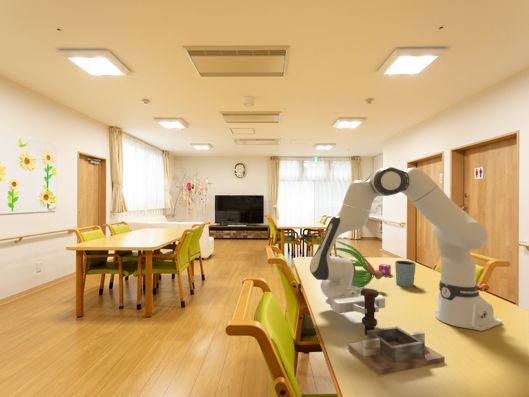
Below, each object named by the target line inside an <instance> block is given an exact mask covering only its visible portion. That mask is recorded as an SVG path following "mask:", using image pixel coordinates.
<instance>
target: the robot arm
mask: <svg viewBox="0 0 529 397" xmlns="http://www.w3.org/2000/svg"><path fill="white" fill-rule="evenodd" d="M398 193H402V194H403V195H404V196H406V197H407V199H408V200H409V201H410V202H411V204H412V205H413V206H414V207H415V208H416V209H417V210H418V212H420V214H421V215H422V217H423V218H424V219H426V220H427V221H429V222H430V223H431V224H432V225H433V228H432V231H433V234H434V237H435V238H436V242H437V249H438V253H439V258H440V259H439V260H440V280H439V284H438V286H439V288H438V290H439V293H438V297H437V298H438V299H437V305H436V306H437V307H436V308H435V318H436V319H437V320H438V321H440V322H442V323H445V324H447V325H451V326H453V327H459V328H464V329H470V330H476V331H480V332H482V331H486V330H488V329H491V328H493V327H496V326H498V325H501V324H503V322H502V320H501V319H500V318H498V317H496V316H495V314H494V308H493V306H492V304H491V303H490V302H488V301H487V300H486V299H485V298H483V297H482V296H481V295H480V292H484V291H485V286H483V285H480V284H477V285H476V280H477V279H476V275H477V274H476V272H477V271H476V270H477V269H476V267H477V266H476V262H475V261H474V259H473V256H472V253H471V250H478V249H481V248H482V247H484V246H485V245H487V242H488V239H489V233H488V230H487V228H486V227H485V226H484V225H483V224H482V223H480V222H479V221H476V219H474V218H473V217H472V216H471V215H469V213H468V212H466V210H464V209H462V208H461V207H460V206H459V205H457V203H455V201H453V200H452V199H451V198H450V197H449V196H448V195H447V194H446V193H445V192H444V191H443V190H442V189H441V188H440V186H439V185H438V184H437V183H436V181H434V180H433V179H432V177H430V176H429V175H428V174H427V173H425V171H423V170H422V169H421V168H418V167H415V166H414V167H408V168H406V169H405V170H402V169H399V168H397V167H392V166H386V167H381V168H379V169H377V170H375V171H374V172H373V173H372V174H370V175H369V176H368V178H367V179H366V180H361V179H359V180H354V181H352V182H351V183H350V184H349V186H348V188H347V191H346V192H345V195H344V198H343V202H342V205H341V208H340V210H339V212H338V213H337V214H336V215H335V216H333V217H331V219H330V220H329V221H328V224H327V226H326V228H325V231H324V233H323V235H322V237H321V240H320V242H319V244H318V247H317V250H316V252H315V253H314V255H313V257H312V258H311V260H310V263H309V271H310V273H311V275H312V276H313V277H314V278H315V279H316V280H318V281H321V282H320V289H321V292H322V294H323V295H324V296H325V297H326V298H327V299H326V300H325V303H326V304H327V305H329V307H330V309H332V310H333V311H334V312H335V313H337V314H342V313H344V314H345V313H353V312H356V313H360V314H362V315H363V314H364V315H365V314H366V313H367V308H365V300H364V296H363V295H361V290H362V289H366V288H368V287H366V286H364V287H356V286H352V284H353V282H354V280H355V276H356V270H357V269H356V267H355V266H354V264H353V263H354V262H352V261H351V260H352V259H351V260H350V258H348V257H345V258H341V257H338V256H335V255H334V256H332V255H331V254H332V250H334V246H335V245H334V244H335V243H336V242H335V241H337V239H338V237H339V236H341V235H342V234H344V233H347V232H353V231H356V230H359V229H361V228H363V227H364V226H366V224H367V223H368V221H369V218H370V214H371V210H372V206H373V203H374V200H376V198H377V197H389V196H392V195H393V196H394V195H397V194H398ZM347 258H348V259H347ZM385 307H386V297H385V296H384V295H382V294H380V293H379V296H377V297H376V298H375V306H374V309H375V313H379V312H380V309H385Z"/></svg>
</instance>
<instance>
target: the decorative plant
mask: <svg viewBox="0 0 529 397" xmlns="http://www.w3.org/2000/svg"><path fill="white" fill-rule="evenodd" d="M335 243H338V244H341V245H343V246H345V247H347V248H345V247H335V248H334V250H336V251H340V252H343V253H344V252H345V253H344V254H345V255H350V256H352V257H353V258H355V259H356V260H355V259H350V258H349V257H345V256H342V255H340V254H336V253H333V252H331V254H332V255H334V256H335V257H341V258H347V259H350V260H351V261H352V262H353V264H354V266H355V268H359V267H360V268H363V269H356V276H355V280H354V282H353V284H352V286H356V287H366V286H367V285H369V284H370V283H371V282H372V280H373V279H374V278H375V279H376V280H381V279H382V278H383V277H384V275H383V274H382V272H381V271H380V270H379V269H376V270H375V268H374V267H373V265H372V264H371V263H370V262H369V261H368V260H367V259H366V257H365V256H363V254H362V253H361V252H360V251H359V250H358V249H356V248H355V247H353V246H351V245H349V244H347V243H346V242H345V243H344V242H341V241H339V240H336V241H335ZM334 246H336V245H335V244H334Z"/></svg>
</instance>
